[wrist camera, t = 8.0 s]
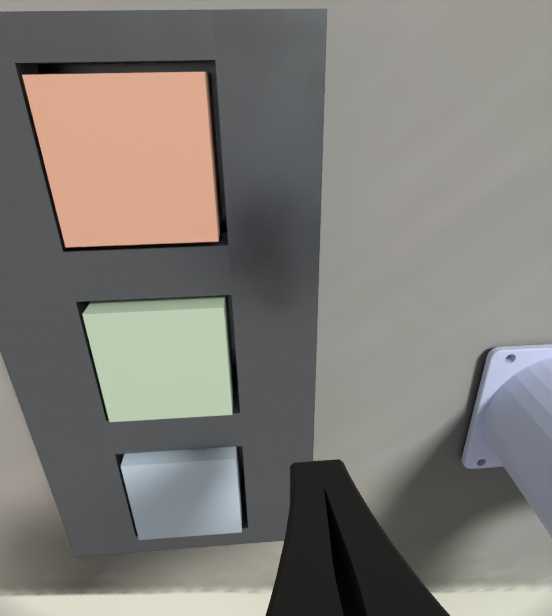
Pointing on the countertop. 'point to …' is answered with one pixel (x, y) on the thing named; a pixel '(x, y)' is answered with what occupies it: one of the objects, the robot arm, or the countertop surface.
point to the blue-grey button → (184, 492)
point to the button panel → (170, 260)
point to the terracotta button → (129, 156)
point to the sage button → (162, 356)
